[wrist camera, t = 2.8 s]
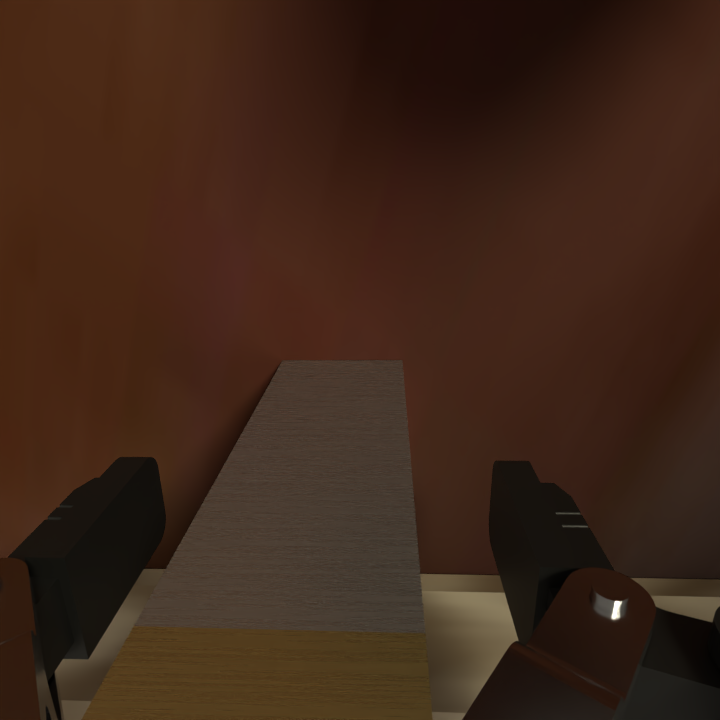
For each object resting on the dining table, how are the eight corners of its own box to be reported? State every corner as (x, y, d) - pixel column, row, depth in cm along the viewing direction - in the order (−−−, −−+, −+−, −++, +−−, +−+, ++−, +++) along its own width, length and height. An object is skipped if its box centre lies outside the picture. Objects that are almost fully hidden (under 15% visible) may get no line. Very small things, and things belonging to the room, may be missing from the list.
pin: (402, 360, 16) (436, 774, 5) (401, 466, 17) (427, 990, 6) (282, 360, 16) (59, 759, 5) (289, 465, 17) (120, 973, 6)
